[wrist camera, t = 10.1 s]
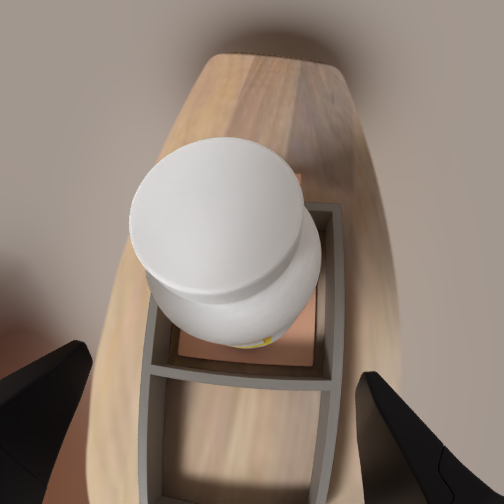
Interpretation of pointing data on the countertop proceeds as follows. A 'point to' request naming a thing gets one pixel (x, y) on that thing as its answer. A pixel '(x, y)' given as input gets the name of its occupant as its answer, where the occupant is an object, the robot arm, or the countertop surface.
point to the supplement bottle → (226, 241)
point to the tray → (276, 353)
